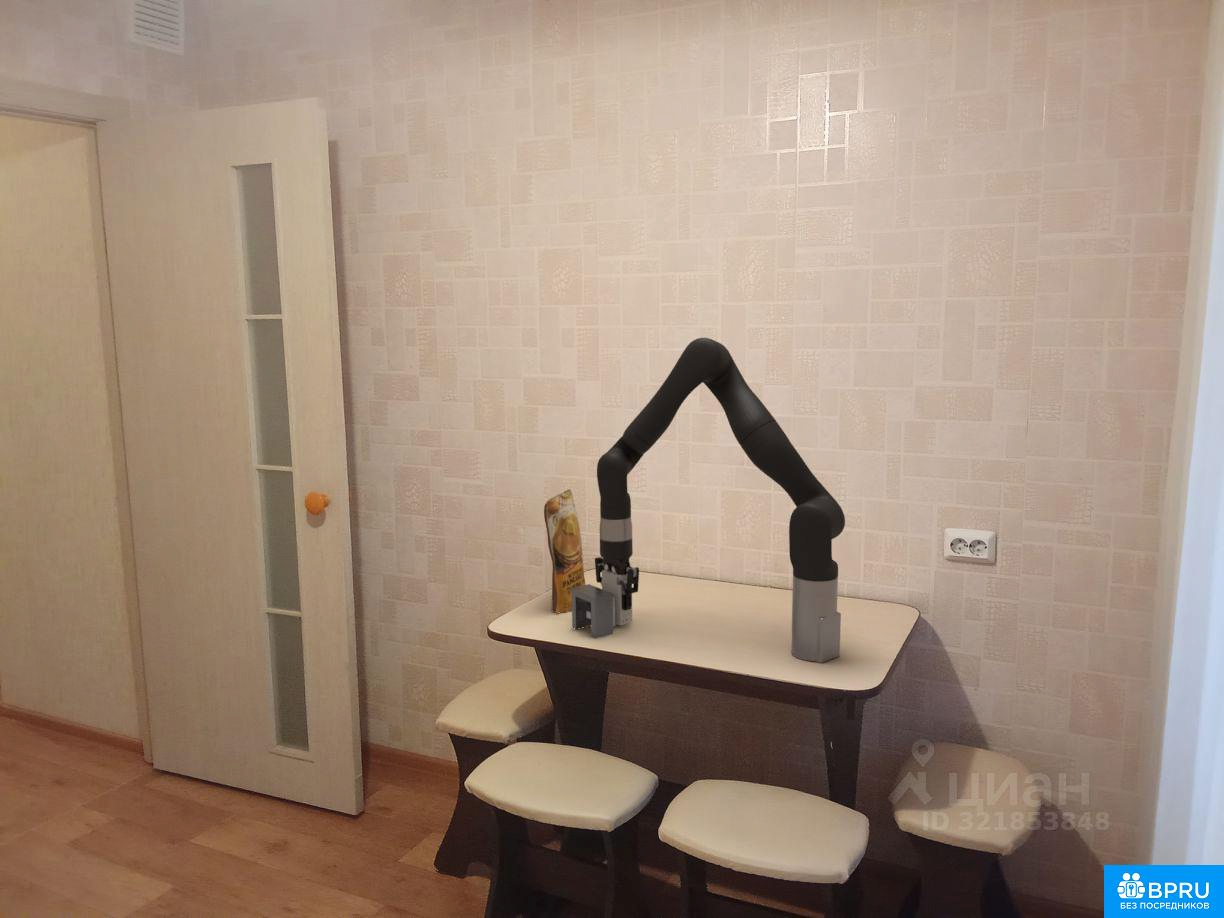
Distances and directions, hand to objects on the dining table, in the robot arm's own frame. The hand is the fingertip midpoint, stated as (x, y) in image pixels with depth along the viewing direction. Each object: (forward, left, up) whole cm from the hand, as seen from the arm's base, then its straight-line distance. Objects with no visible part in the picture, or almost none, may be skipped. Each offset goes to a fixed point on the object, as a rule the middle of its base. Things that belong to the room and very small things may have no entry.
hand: (617, 605), depth 214 cm
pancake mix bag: (+19, +1, -5) cm, 20 cm away
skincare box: (0, 0, -4) cm, 4 cm away
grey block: (+2, +5, -4) cm, 7 cm away
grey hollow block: (+2, +4, -5) cm, 6 cm away
